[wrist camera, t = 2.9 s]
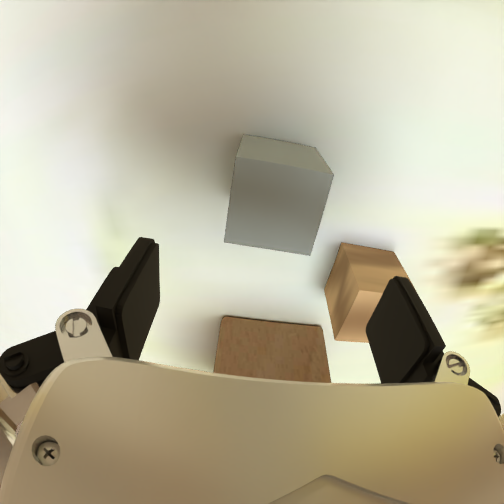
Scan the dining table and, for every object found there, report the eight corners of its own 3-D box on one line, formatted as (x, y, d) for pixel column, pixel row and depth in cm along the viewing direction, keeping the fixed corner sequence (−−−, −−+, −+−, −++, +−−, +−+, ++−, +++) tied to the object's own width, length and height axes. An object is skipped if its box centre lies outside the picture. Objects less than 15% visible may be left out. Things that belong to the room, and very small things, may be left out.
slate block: (243, 134, 19) (235, 156, 14) (315, 147, 20) (333, 174, 15) (233, 199, 22) (223, 242, 17) (299, 210, 22) (310, 255, 17)
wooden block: (216, 371, 34) (196, 534, 17) (222, 313, 28) (192, 531, 12) (299, 379, 34) (305, 537, 18) (323, 324, 29) (349, 530, 12)
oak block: (341, 242, 24) (359, 290, 19) (393, 251, 24) (419, 297, 19) (323, 289, 26) (334, 340, 21) (373, 295, 27) (390, 343, 22)
